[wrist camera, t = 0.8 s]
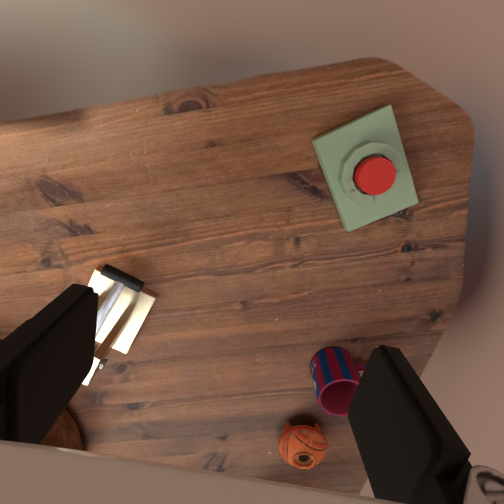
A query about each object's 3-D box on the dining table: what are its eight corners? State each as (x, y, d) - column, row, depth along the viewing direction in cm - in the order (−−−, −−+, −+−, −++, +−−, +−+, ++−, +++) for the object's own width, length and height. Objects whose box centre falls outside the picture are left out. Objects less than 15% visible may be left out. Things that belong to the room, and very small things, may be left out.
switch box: (310, 139, 39) (316, 141, 36) (383, 105, 38) (397, 103, 34) (343, 227, 43) (352, 236, 40) (411, 198, 42) (426, 206, 38)
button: (349, 165, 37) (353, 167, 35) (384, 149, 36) (390, 151, 35) (360, 197, 38) (365, 201, 37) (394, 183, 38) (400, 185, 36)
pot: (325, 447, 57) (323, 487, 51) (281, 436, 59) (273, 473, 53) (331, 414, 54) (330, 452, 48) (284, 403, 56) (277, 438, 50)
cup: (310, 347, 50) (318, 379, 44) (376, 345, 50) (394, 377, 44) (309, 381, 53) (317, 417, 46) (372, 380, 52) (388, 415, 46)
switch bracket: (98, 265, 46) (48, 310, 35) (158, 294, 47) (128, 346, 36) (73, 324, 49) (20, 381, 38) (129, 349, 51) (94, 411, 40)
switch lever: (108, 263, 41) (104, 263, 38) (145, 281, 42) (143, 283, 39) (58, 353, 39) (50, 359, 37) (97, 370, 40) (92, 377, 38)
